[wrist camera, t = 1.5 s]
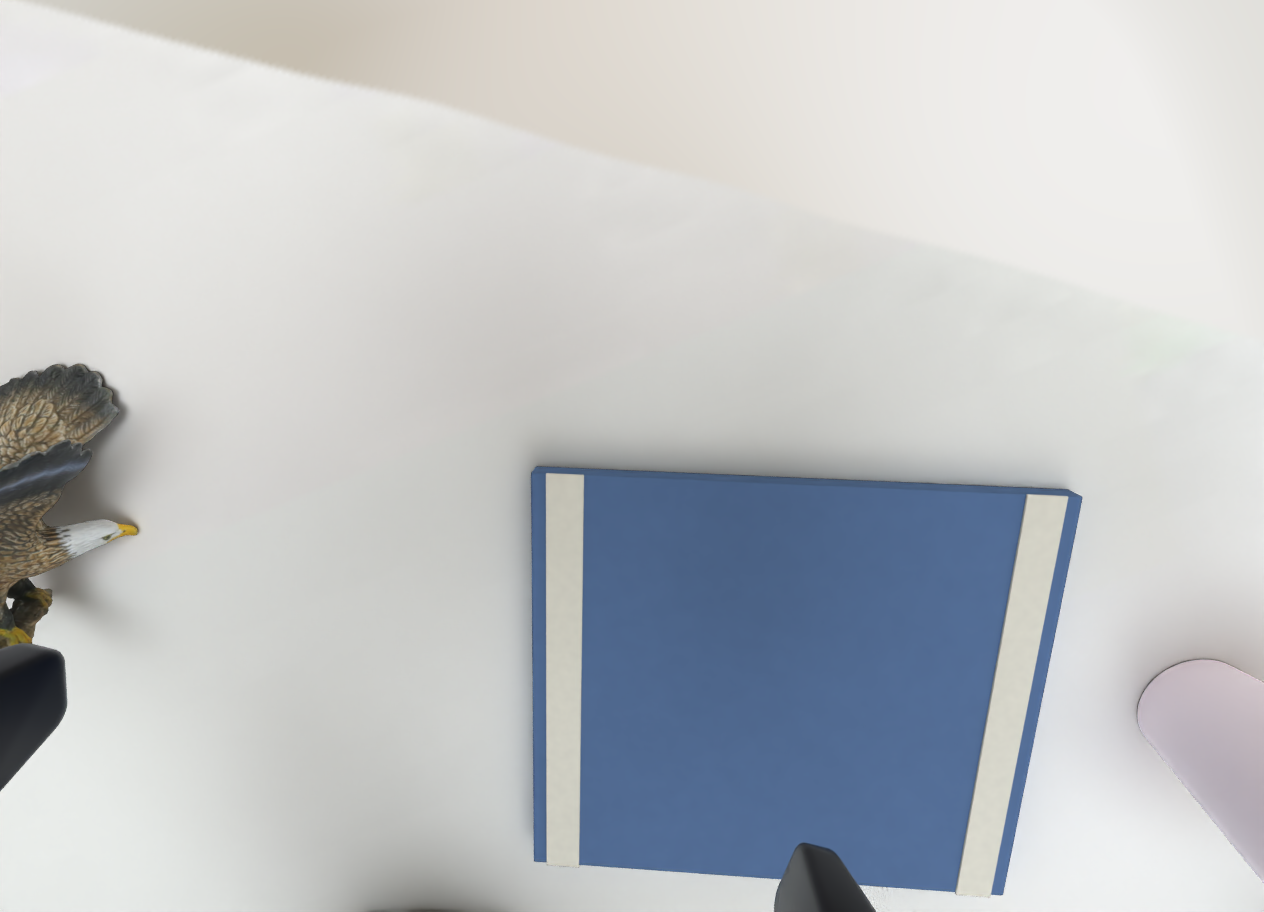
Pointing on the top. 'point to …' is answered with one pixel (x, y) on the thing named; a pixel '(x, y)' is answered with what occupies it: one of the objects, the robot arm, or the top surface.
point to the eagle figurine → (45, 484)
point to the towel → (789, 671)
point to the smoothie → (1213, 745)
